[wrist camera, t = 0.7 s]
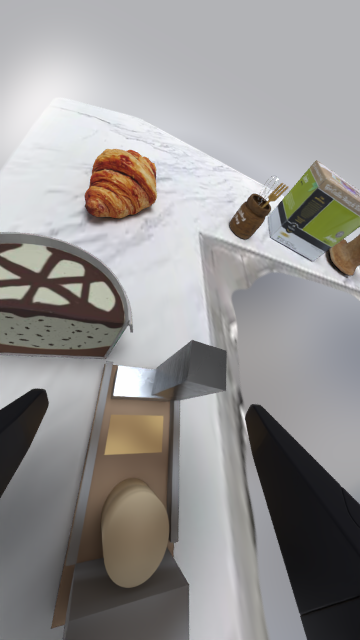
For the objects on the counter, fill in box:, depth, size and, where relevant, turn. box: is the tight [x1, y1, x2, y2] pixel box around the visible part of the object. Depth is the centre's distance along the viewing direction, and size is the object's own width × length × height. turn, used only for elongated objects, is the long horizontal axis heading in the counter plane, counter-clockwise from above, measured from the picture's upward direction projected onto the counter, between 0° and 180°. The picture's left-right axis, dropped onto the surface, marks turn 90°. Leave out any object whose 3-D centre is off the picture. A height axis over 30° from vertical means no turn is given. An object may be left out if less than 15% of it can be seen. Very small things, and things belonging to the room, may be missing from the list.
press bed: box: [51, 361, 189, 640], centre depth 15 cm, size 16×8×6 cm, turn 179°
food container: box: [0, 232, 133, 359], centre depth 16 cm, size 12×6×10 cm, turn 94°
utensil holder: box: [230, 180, 288, 239], centre depth 39 cm, size 6×6×12 cm
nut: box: [101, 478, 169, 588], centre depth 13 cm, size 4×4×4 cm
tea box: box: [268, 161, 360, 261], centre depth 46 cm, size 15×10×15 cm, turn 79°
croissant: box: [85, 149, 157, 218], centre depth 31 cm, size 21×10×8 cm, turn 160°
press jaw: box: [111, 340, 226, 402], centre depth 15 cm, size 3×6×10 cm, turn 89°
